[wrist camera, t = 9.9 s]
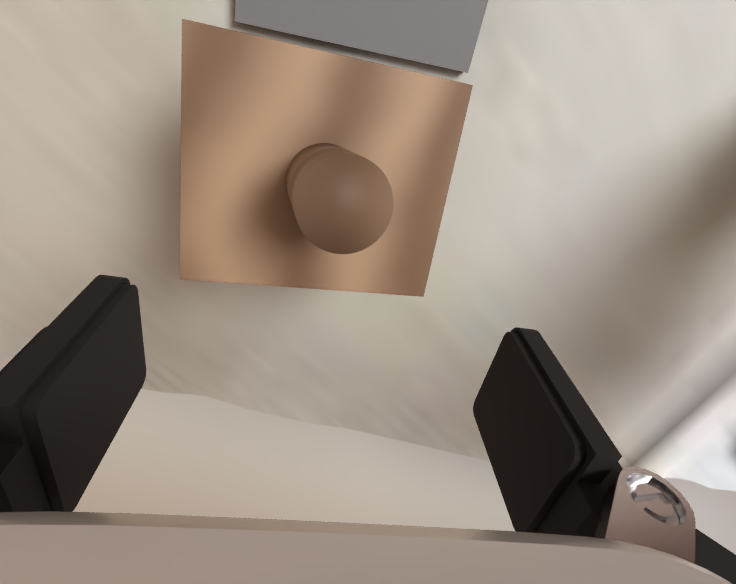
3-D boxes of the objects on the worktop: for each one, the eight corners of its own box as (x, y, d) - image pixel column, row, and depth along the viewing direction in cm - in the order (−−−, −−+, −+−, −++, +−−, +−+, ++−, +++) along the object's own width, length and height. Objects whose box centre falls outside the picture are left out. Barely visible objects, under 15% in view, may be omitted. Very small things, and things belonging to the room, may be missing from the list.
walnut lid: (465, 86, 23) (541, 77, 17) (419, 291, 27) (465, 344, 21) (184, 22, 19) (149, -20, 13) (182, 273, 23) (154, 332, 17)
